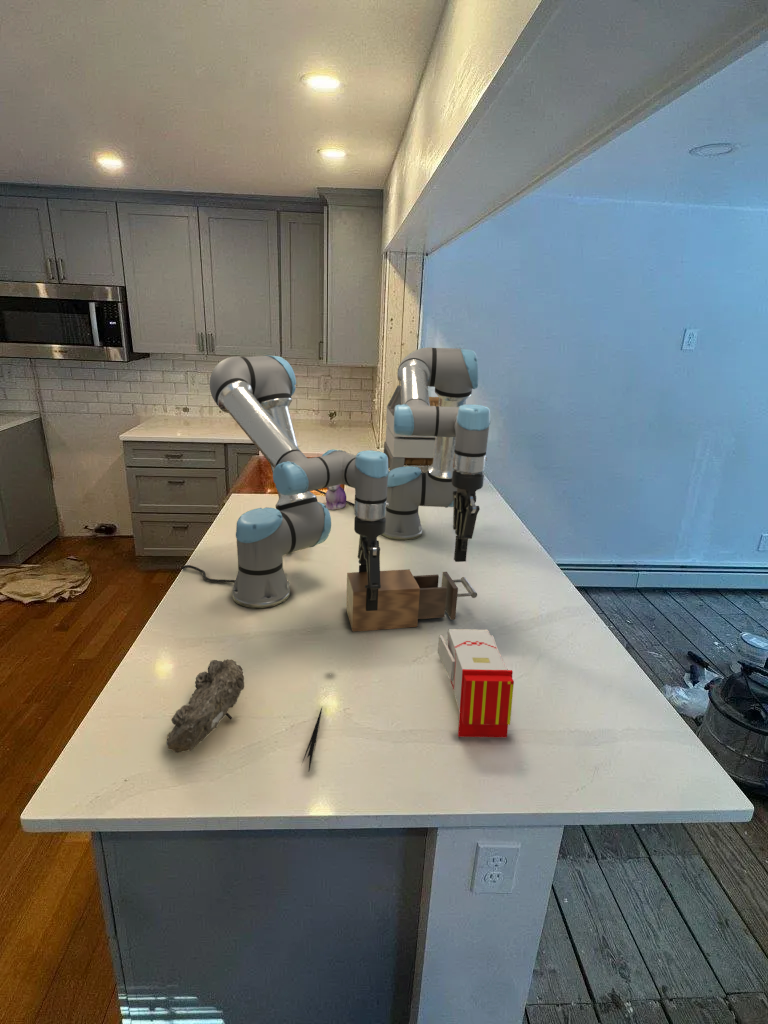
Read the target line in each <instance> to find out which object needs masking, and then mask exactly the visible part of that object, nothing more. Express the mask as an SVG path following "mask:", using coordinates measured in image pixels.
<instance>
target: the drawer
mask: <svg viewBox="0 0 768 1024" xmlns="http://www.w3.org/2000/svg"><path fill="white" fill-rule="evenodd" d="M441 573H442V575H441V585H440V586H439V580H440V579H439V578H440V575H439V574H419V575H413V577H414V578H415V580H416V582H417V584H418V586H419V588H420V594H419V609H418V620H425V619H437V618H438V619H439V618H445V616H446V614H447V616H448V617H449V619H450V621H451V620H456V615H457V605H458V598H463V597H464V598H465V597H471V598H472V599H475V598H477V597H478V592H477V591H476V590H475V588H474V587H473V586H472V585H471V583H470V582H469V580H468V579H467V578H466V577H465V576H462V577H460V578H459V579H458V578H457V579H453V577H452V576H451V575H450V574H449V572H448V571H442V572H441ZM456 583H461V584H462V586H463V587H464V589H465V590H466V592H463V593H459V587H458V586H457V584H456Z"/></svg>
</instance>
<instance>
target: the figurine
mask: <svg viewBox="0 0 768 1024" xmlns="http://www.w3.org/2000/svg"><path fill="white" fill-rule="evenodd" d="M326 489H327V490H326V492H325V493H326V495H325V501H326V502H325V506H326V508H327V509H328V510H340V509H343V508H345V507H346V505H347V503H346V501H347V493H346V491H345V489H344V488H343V487H342V486H341V484H340V485H336V486H331V487H327V488H326Z"/></svg>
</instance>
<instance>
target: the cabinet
mask: <svg viewBox="0 0 768 1024" xmlns="http://www.w3.org/2000/svg"><path fill="white" fill-rule="evenodd" d="M413 576H414V575H413V573H412V571H411V569H409V568H408V569H391V570H390V569H389V570H380V585H381V588H379V589H378V608H377V610H375V611H366V590H367V588H365V586H366V585H368V580H367V572H359V571H355V572H347V573H346V606H345V607H346V609H345V610H346V614H347V617H348V621H349V623H350V628H351V631H352V632H365V631H366V632H367V631H368V632H369V631H379V630H380V631H381V630H392V629H393V630H395V629H406V628H417V627H418V626H419V625H418V622H419V619H418V609H419V594H420V588H419V586H418V584H417V582H416V580H415V578H414V577H413Z"/></svg>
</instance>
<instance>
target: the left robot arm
mask: <svg viewBox="0 0 768 1024" xmlns="http://www.w3.org/2000/svg"><path fill="white" fill-rule="evenodd" d="M296 385H297V379H296V375H295V370H294V369H293V367H292V365H291V364H290V363H289V361H288V360H286V359H285V358H283V357H282V356H278V355H269V354H265V355H254V356H253V355H252V356H251V355H250V356H229V357H226V358H224V359H222V360H220V362H218V363H217V364H216V365H215V366H214V368H213V370H212V372H211V373H210V377H209V391H210V394H211V397H212V399H213V401H214V403H215V404H216V406H217V407H218V408H219V409H220V411H222V412H223V413H226V414H229V415H230V416H231V417H232V419H233V420H234V421H235V423H237V425H238V426H239V427H240V428H241V430H242V431H243V432H244V434H246V436H247V437H248V438H249V440H250V441H251V443H252V444H254V446H255V447H256V448H257V450H258V451H259V452H260V453H261V455H263V457H264V458H265V459H266V461H267V462H268V463H269V465H270V468H271V472H272V480H273V483H274V484H275V489H276V492H277V495H278V501H277V502H276V504H275V508H274V507H267V506H266V507H264V508H262V507H258V508H253V509H250V510H247V511H245V512H244V513H242V514H241V515H240V516H239V517H238V519H237V521H236V526H235V527H236V529H235V538H236V551H237V554H236V555H237V573H236V577H235V579H220V578H219V579H218V578H217V579H216V578H210V577H207V574H206V572H205V571H204V570H203V569H201V568H199V567H197V566H195V565H191V564H185V565H183V566H181V568H180V570H185V569H193V570H195V571H197V572H199V573H201V574H202V578H203V579H204V580H205V581H207V582H211V583H228V584H229V583H233V585H232V586H233V587H232V592H231V594H232V600H233V601H234V603H236V604H238V605H240V606H242V607H245V608H251V609H264V608H265V609H266V608H271V607H275V606H278V605H280V604H283V603H284V602H286V601H287V600H288V599H289V598H290V595H291V587H290V581H289V579H288V578H287V575H286V572H285V569H284V566H283V564H284V563H283V561H284V560H283V558H284V557H283V556H285V555H289V554H291V553H295V552H298V551H301V550H305V549H308V548H314V547H316V546H318V545H319V544H322V543H324V542H325V541H326V540H327V539H328V538H329V535H330V533H331V530H332V518H331V517H332V515H331V513H330V509H327V508H326V504H324V503H323V502H320V501H318V497H317V495H316V494H314V493H313V491H315V490H317V489H318V490H321V489H327V487H331V486H336V485H340V486H341V485H344V486H347V487H349V488H353V489H354V504H355V506H354V514H353V515H354V517H353V518H354V524H353V525H354V526H353V530H354V532H355V533H356V534H357V535H359V540H358V550H357V559H358V564H359V565H358V572H367V580H368V585H366V586H365V588H367V590H366V611H375V610H377V608H378V589H379V588H381V585H380V571H381V555H380V554H381V547H380V541H379V540H378V538H379V536H383V535H382V534H384V533H385V530H386V518H385V516H386V507H387V506H389V504H388V503H387V502H386V500H387V482H388V473H389V472H390V470H389V467H388V457H387V455H386V454H385V453H384V451H383V452H382V451H379V450H373V449H372V450H371V449H370V450H361V451H358V452H357V453H356V455H354V454H352V453H349V452H347V451H345V450H342V449H334V448H333V449H328V450H327V451H325V452H324V453H322V455H320V456H315V457H307V456H306V455H305V454H304V453H303V452H302V451H301V449H300V448H299V444H298V440H297V437H296V434H295V432H296V431H295V429H294V425H293V421H292V416H291V413H290V409H289V407H290V405H291V404H292V402H293V398H292V396H293V395H294V394H295V392H296V388H297V387H296Z"/></svg>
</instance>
